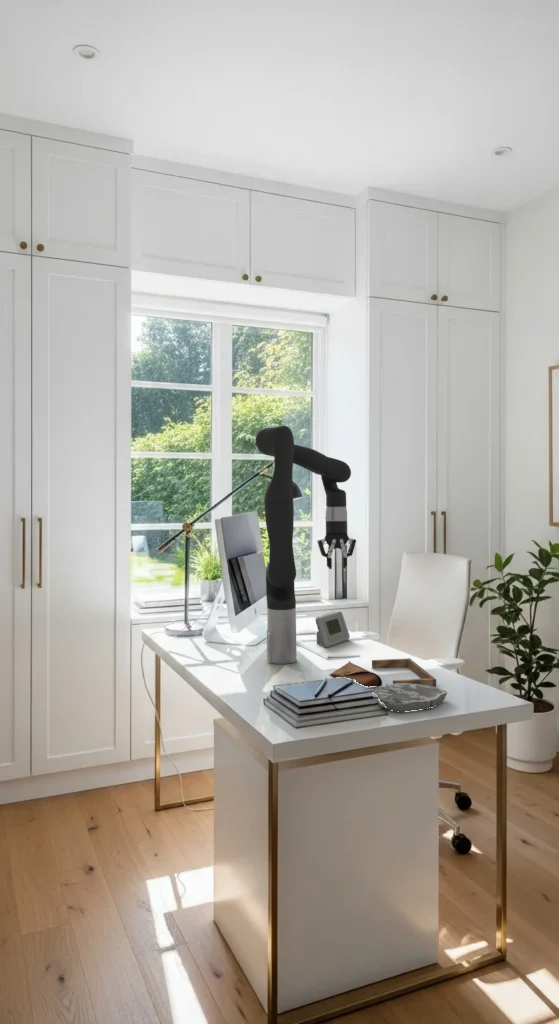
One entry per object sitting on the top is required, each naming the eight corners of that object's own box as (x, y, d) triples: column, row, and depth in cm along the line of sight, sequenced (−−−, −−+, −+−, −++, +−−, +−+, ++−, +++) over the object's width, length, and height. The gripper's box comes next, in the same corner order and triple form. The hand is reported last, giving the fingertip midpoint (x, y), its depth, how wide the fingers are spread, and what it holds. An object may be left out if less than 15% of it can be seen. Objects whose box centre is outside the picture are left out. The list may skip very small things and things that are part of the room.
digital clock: (325, 649, 244) (325, 618, 244) (307, 645, 251) (306, 615, 251) (356, 641, 255) (356, 612, 255) (338, 638, 262) (337, 609, 262)
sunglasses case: (325, 674, 211) (335, 654, 212) (343, 683, 214) (353, 663, 215) (356, 690, 195) (367, 668, 196) (375, 700, 197) (385, 678, 199)
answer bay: (393, 690, 194) (393, 681, 194) (371, 668, 218) (371, 660, 218) (436, 688, 196) (436, 679, 196) (409, 666, 219) (409, 658, 219)
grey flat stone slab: (407, 689, 196) (407, 678, 196) (456, 704, 182) (456, 692, 182) (355, 703, 184) (355, 692, 184) (404, 720, 171) (404, 708, 170)
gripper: (318, 520, 243) (318, 570, 244) (358, 519, 245) (359, 569, 245) (314, 519, 250) (315, 567, 251) (354, 518, 252) (354, 566, 253)
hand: (337, 568), depth 248 cm, fingers open, 4 cm apart
